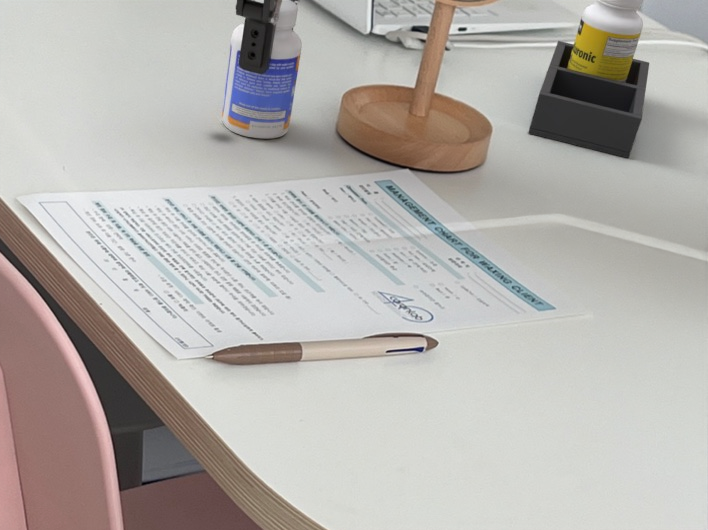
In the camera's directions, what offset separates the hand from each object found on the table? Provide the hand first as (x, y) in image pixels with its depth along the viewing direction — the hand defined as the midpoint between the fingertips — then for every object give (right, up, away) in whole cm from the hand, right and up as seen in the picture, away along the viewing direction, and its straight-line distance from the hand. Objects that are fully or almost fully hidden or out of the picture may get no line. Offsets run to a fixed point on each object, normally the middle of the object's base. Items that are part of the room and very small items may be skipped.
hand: (264, 58), depth 100 cm
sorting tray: (+29, 0, +17) cm, 33 cm away
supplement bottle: (+30, +2, +20) cm, 36 cm away
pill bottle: (-1, -5, +3) cm, 6 cm away
